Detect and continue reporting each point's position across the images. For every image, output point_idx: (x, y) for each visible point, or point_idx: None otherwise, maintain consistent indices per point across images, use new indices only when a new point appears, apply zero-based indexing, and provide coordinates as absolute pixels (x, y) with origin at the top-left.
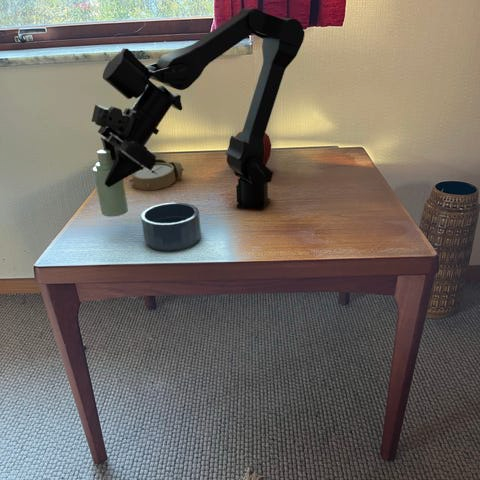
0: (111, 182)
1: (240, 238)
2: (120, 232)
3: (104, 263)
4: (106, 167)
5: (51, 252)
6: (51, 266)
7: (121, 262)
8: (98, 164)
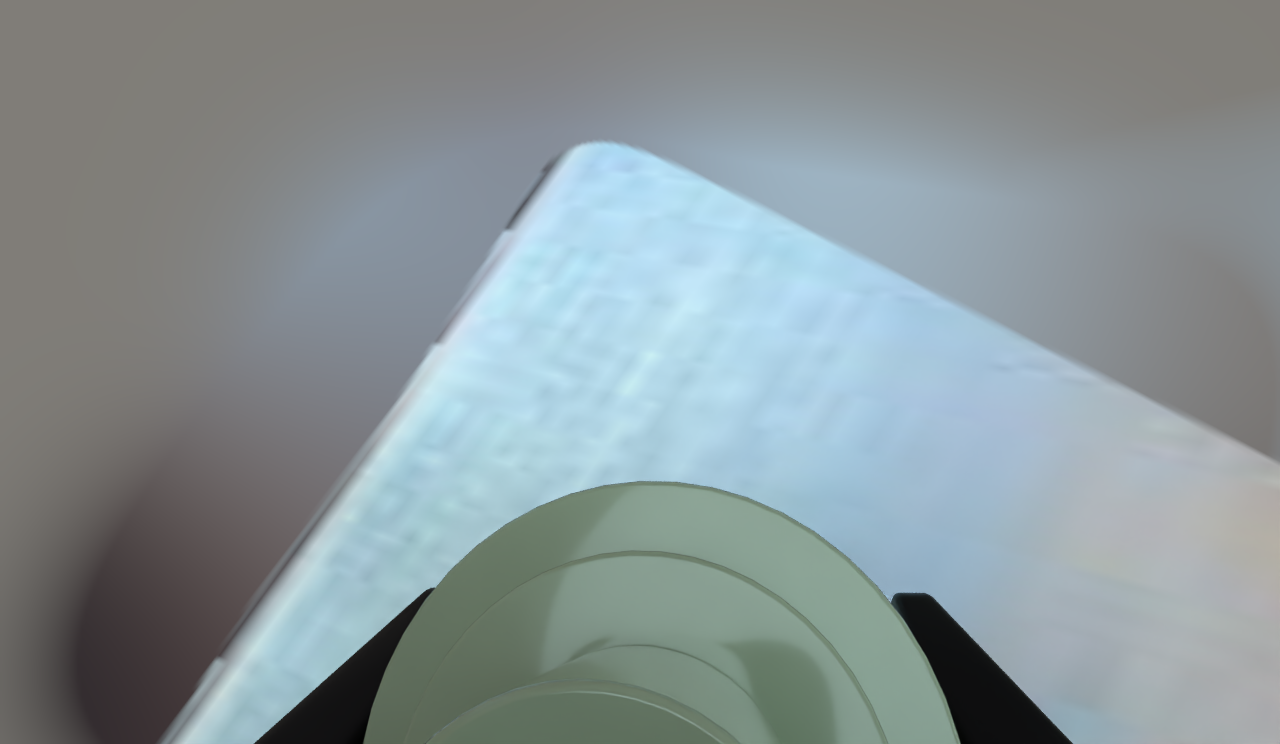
0: None
1: None
2: None
3: (396, 434)
4: (419, 733)
5: (726, 201)
6: (544, 177)
7: (343, 527)
8: (655, 620)
